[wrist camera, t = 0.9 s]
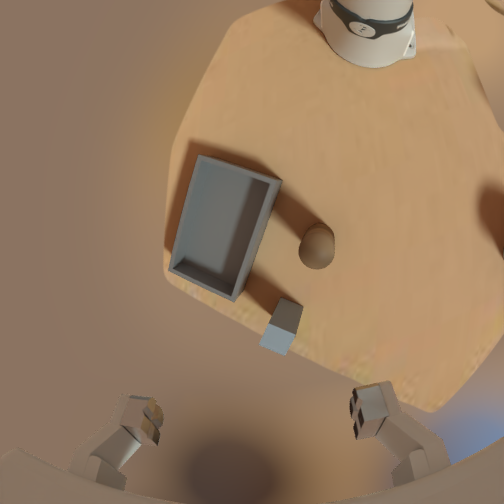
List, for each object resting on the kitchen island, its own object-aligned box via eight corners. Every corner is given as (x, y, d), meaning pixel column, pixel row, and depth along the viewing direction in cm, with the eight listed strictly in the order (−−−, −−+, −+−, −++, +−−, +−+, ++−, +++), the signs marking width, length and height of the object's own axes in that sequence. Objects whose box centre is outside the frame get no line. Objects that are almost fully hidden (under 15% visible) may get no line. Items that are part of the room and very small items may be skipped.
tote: (211, 156, 48) (198, 154, 43) (282, 180, 46) (276, 180, 41) (181, 262, 55) (168, 270, 50) (242, 291, 53) (234, 302, 48)
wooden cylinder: (311, 219, 46) (306, 228, 38) (339, 230, 45) (340, 242, 37) (300, 246, 48) (293, 261, 39) (327, 257, 47) (326, 274, 38)
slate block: (280, 297, 51) (268, 323, 42) (303, 306, 50) (295, 334, 41) (272, 316, 53) (258, 344, 43) (294, 326, 52) (284, 355, 42)
